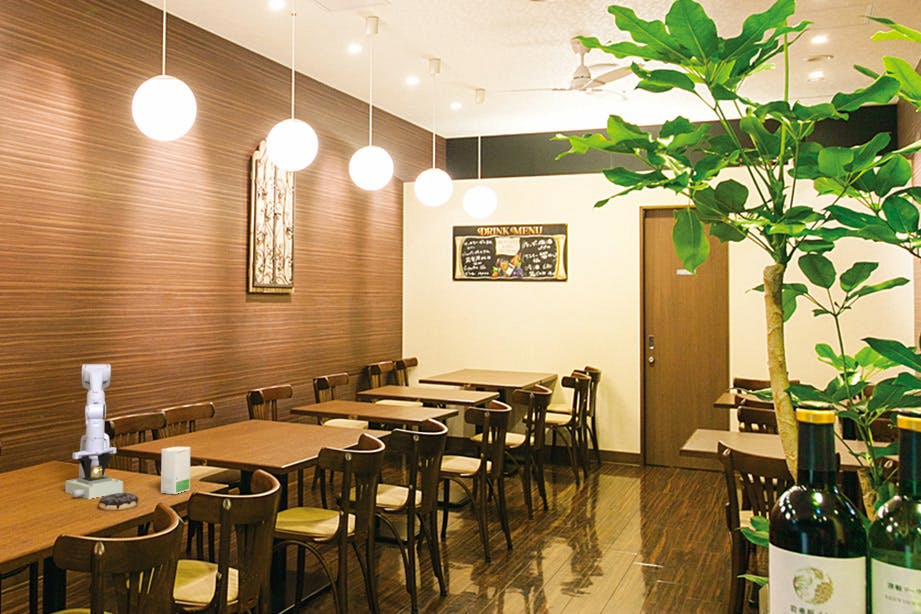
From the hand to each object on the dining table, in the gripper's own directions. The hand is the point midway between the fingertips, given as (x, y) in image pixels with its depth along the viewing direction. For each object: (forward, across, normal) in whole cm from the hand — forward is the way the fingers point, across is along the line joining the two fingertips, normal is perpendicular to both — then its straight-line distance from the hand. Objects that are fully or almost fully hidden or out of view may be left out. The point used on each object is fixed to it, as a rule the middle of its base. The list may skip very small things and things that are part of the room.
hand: (94, 476), depth 257 cm
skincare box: (+6, +18, -21) cm, 28 cm away
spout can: (+2, 0, 0) cm, 2 cm away
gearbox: (+6, -2, 0) cm, 6 cm away
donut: (+6, -5, -25) cm, 26 cm away
